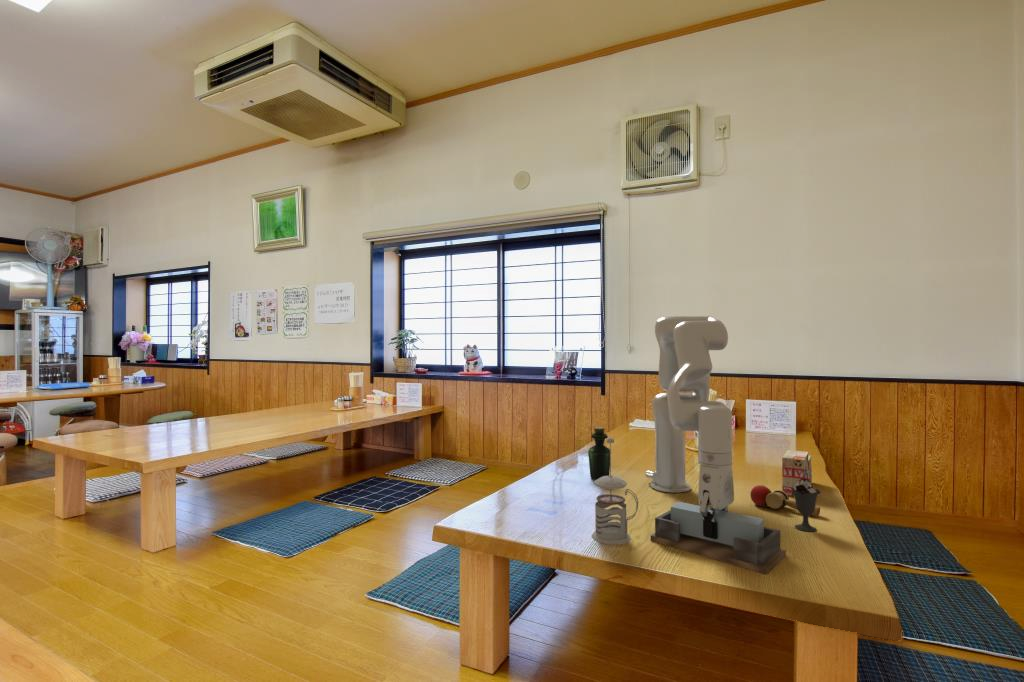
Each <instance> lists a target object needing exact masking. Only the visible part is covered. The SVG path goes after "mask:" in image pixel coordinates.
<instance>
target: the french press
mask: <svg viewBox="0 0 1024 682" xmlns="http://www.w3.org/2000/svg"><path fill="white" fill-rule="evenodd" d="M606 443H607V444H609V449H610V472H609V476H603V477H601V478H599V479H597V480H594V485H595V486H597V487H598V488H601V489H606V490H607V489H608V490H609V493H607V494H606V493H605V494H604V493H603V494H600V495H597V497H596V502H595V505H594V506H595V507H594V508H595V522H594V523H595V529H594V532H592V533H591V538H592V540H593V541H596V542H597V543H600V544H605V545H610V546H611V545H615V546H617V545H625V544H627V543H629V542H630V541H631V539H632V538H631V535H629V534H628V521H629V520H632V519H633V518H635V516H636V514H637V512H638V509H639V499H638V497H637V495H636V493H634V492H633V490H631V489H630V488H627V489H625V491H624V495H625V496H627V495H628V494H630V495H631V496H632V497H633V498H634V499H633V500H634V501H635V507H636V508H635V512H634V513H633V514H632V515H630V516H628V517H627V503H625V502H626V498H625V497H623V496H622V495H618V494H612V490H618V489H623V488H625V487H627V486H628V482H627V481H626V480H624V479H622V478H620V477H619V476H615V475H612V458H611V457H612V444H615V439H614V438H612V437H608V438H606ZM615 505H616V506H615ZM617 505H618V506H617ZM611 506H613V507H611ZM619 506H620V507H621V508H620V507H619ZM609 507H610V508H609ZM615 515H617V516H615ZM614 520H615V521H614Z"/></svg>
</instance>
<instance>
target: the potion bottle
mask: <svg viewBox="0 0 1024 682" xmlns="http://www.w3.org/2000/svg"><path fill="white" fill-rule="evenodd" d="M593 429H594V433H592V434H591V436H590V437H591V438H592V439H593V440H594V443H595V444H594V445H593V446H591V447H589V449H588V451H587V455H588V465H589V475H590V476H589V477H590V478H591V479H592V480H594V481H595V480H597V479H599V478H601V477H603V476H609V475H610V447H607V446H606V445H604V444H605V440H607V439H608V438H609V437H608V434H607V433H605V430H606V429H605V427H603V426H594V428H593Z"/></svg>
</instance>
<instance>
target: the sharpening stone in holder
mask: <svg viewBox="0 0 1024 682" xmlns="http://www.w3.org/2000/svg"><path fill="white" fill-rule="evenodd" d="M654 527H655V528H654V533H652V534H650V541H652V542H656V543H659V544H662V545H666V546H670V547H673V548H676V549H680V550H683V551H686V552H689V553H692V554H697V555H700V556H703V557H707V558H709V559H713V560H717V561H719V562H722V563H727V564H730V565H733V566H737V567H741V568H743V569H747V570H750V571H754V572H758V573H760V574H762V575H768V574H769V573H770V572H771V571H772V569H773V568H775V567H776V566H777V565H778V564H779V563H780V562H781V561H782V560H783V559H784V558H785V557H786V556H787V550H786V549H782V548H781V530H779V529H777V528H771V527H766V526H764V539H763V540H762V541H761V542H760V543H756V542H752V541H748V540H744V539H740V538H736V537H735V538H733V546H731V545H727V544H723V543H719V542H715V541H710V540H706V539H702V538H698V537H694V536H689V535H685V534H681V533H680V523H678V522H675V521H671V509H670V510H668V511H665V512H664V513H662V514H660V515H658V516H656V517H655V518H654Z"/></svg>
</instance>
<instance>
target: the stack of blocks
mask: <svg viewBox="0 0 1024 682" xmlns="http://www.w3.org/2000/svg"><path fill="white" fill-rule="evenodd" d="M781 461H782V462H781V463H782V464H781V466H782V468H781V469H782V471H781V474H782V475H781V476H782V483H781V484H782V485H781V486H782V487H781V488H782V489H781V491H784V492H785V493H786V494H787V495H788V497H793V496H795V495H794V491H793V490H792V489H791V488H793V487H794V486H796V485H797V482H798V481H799V480H800V479H801V477H803V476H804V475H805V470H807V471H806V472H807V473H806V475H805V477H806V478H807V475H808V479H809V480H810V482H813V480H812V479H813V477H812V471H813V469H812V467H813V466H812V455H809V451H802V450H792V449H791V450H790V449H787V450H786V452H785V453H784V455H783V456H782V457H781Z"/></svg>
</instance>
